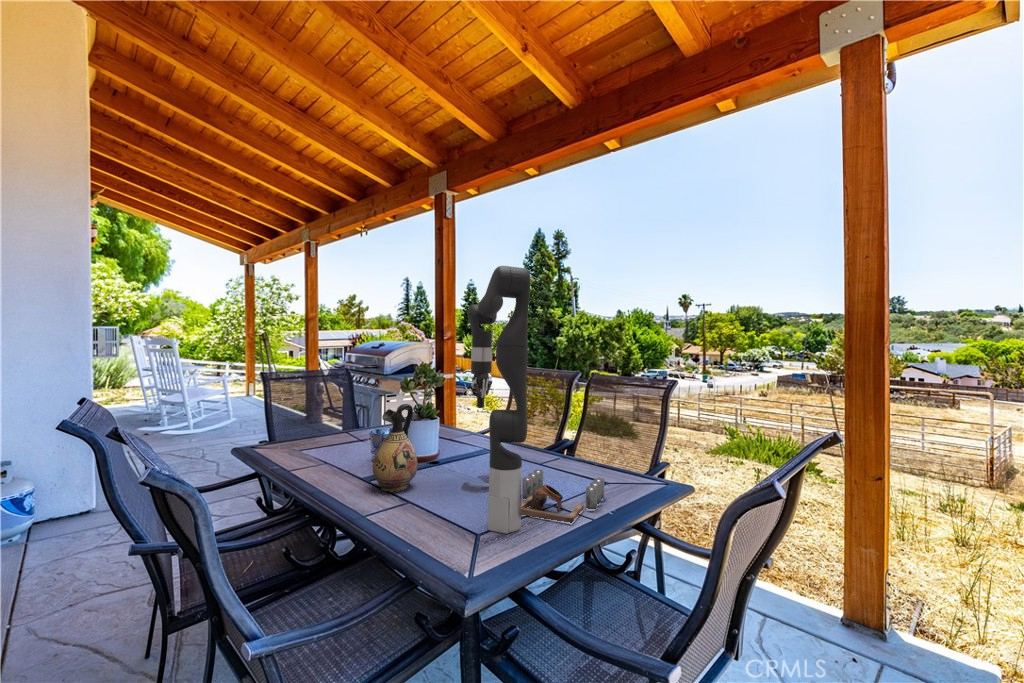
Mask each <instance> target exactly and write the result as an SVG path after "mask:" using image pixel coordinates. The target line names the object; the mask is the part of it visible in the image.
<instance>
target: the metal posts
mask: <svg viewBox="0 0 1024 683" xmlns="http://www.w3.org/2000/svg"><path fill="white" fill-rule="evenodd" d="M543 486H544V470H543V469H540V468H539V469H537V468H536V469H533V472H528V474H527V476H523V477H521V499H522V498H523V499H527V498H528V497H530V496H533V495H534V493H535V491H537V489H539V488H542V487H543ZM602 498H604V499H605V479H604V478H602V477H594V479H593V481H591V482H590V483H589V485H588V486H586V487H585V509H586V508H588V509H596V508H597V509H598V507H597V504H599V503H602V502H601V499H602ZM523 499H522V500H523Z"/></svg>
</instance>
